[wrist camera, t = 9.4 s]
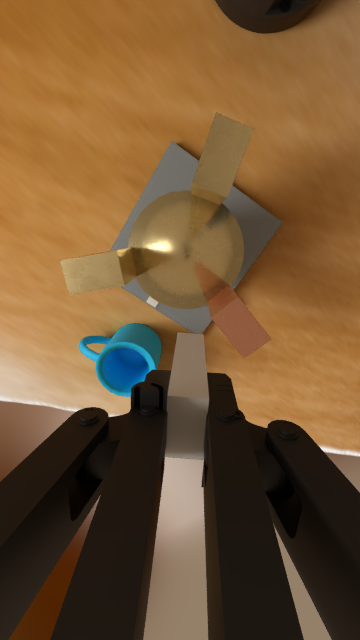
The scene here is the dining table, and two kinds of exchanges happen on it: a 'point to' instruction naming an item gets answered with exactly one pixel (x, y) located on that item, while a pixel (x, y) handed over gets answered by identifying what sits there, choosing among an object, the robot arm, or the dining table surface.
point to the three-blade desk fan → (186, 245)
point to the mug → (124, 357)
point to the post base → (250, 216)
